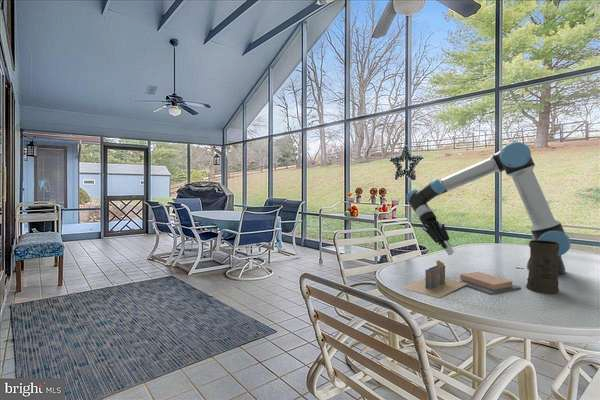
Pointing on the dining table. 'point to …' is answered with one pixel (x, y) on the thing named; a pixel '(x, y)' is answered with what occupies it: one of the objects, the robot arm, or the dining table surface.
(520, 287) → the mat
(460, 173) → the robot arm
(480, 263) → the dining table surface
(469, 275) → the tile
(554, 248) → the beer stein
